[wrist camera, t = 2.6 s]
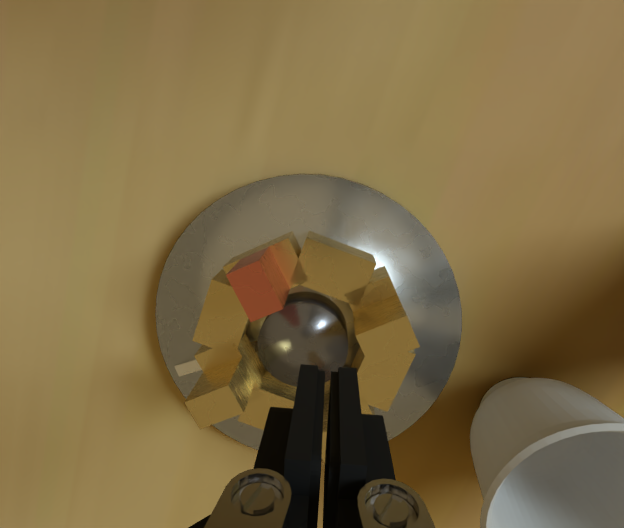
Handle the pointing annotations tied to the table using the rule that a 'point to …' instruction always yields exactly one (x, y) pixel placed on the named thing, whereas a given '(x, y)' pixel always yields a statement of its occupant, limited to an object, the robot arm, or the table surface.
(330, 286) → the wooden block ring
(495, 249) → the table surface
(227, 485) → the robot arm
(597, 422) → the teacup
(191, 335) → the cap plate
